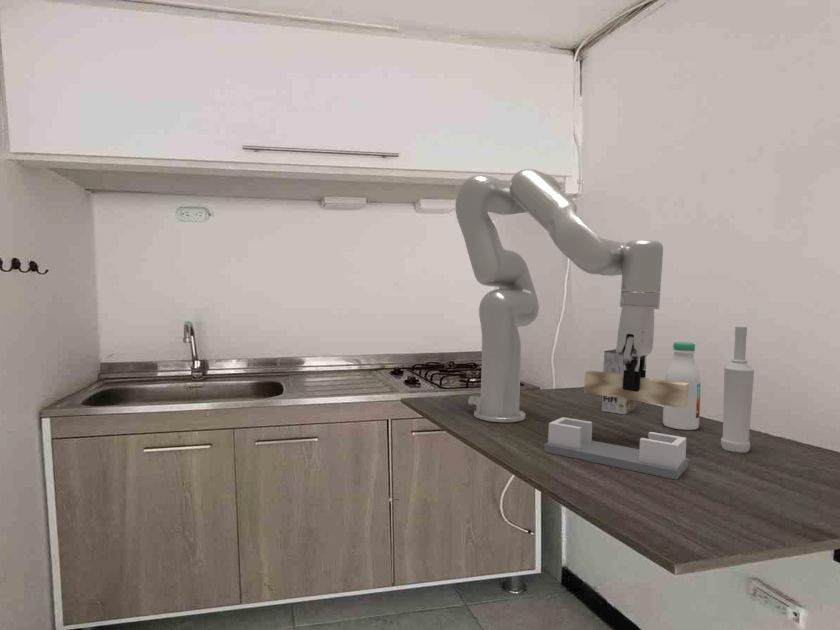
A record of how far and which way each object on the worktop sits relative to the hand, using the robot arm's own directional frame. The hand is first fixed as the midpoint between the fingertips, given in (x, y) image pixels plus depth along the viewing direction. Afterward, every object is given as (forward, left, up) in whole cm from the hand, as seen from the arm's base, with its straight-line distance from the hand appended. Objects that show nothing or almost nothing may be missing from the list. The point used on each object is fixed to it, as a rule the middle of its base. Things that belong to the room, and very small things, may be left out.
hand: (633, 388), depth 113 cm
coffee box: (-12, +31, -12) cm, 35 cm away
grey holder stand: (+1, -14, -12) cm, 18 cm away
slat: (0, 0, -2) cm, 2 cm away
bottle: (+18, +10, -12) cm, 23 cm away
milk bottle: (+5, +23, -12) cm, 26 cm away
